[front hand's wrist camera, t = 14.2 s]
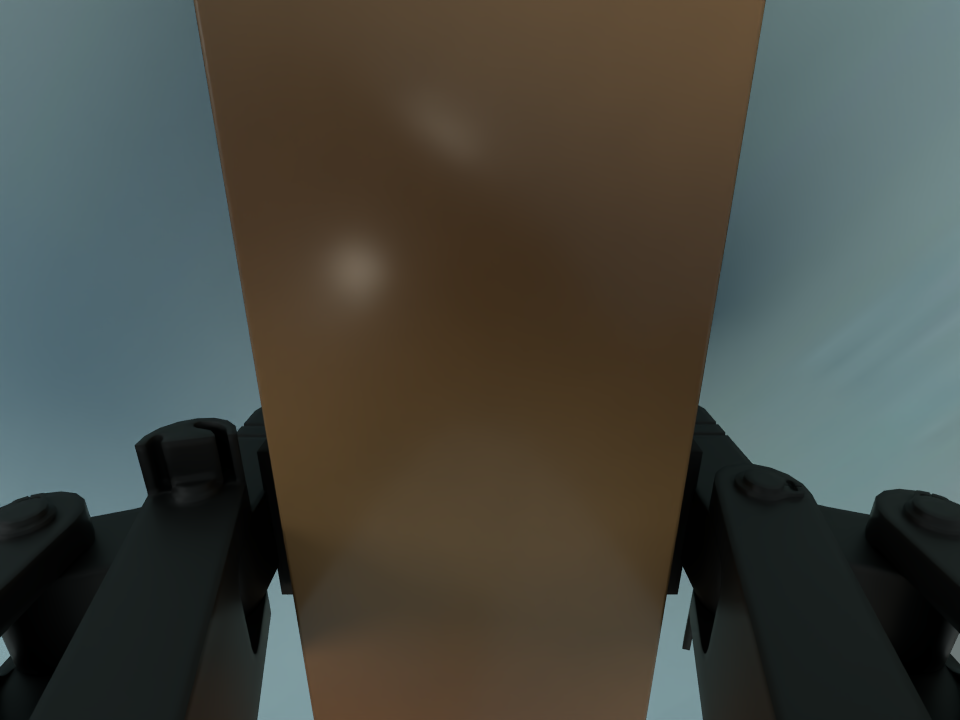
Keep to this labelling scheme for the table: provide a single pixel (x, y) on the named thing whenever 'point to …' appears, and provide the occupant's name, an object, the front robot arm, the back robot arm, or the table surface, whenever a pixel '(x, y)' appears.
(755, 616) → the front robot arm
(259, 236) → the post
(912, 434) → the table surface
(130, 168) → the table surface
